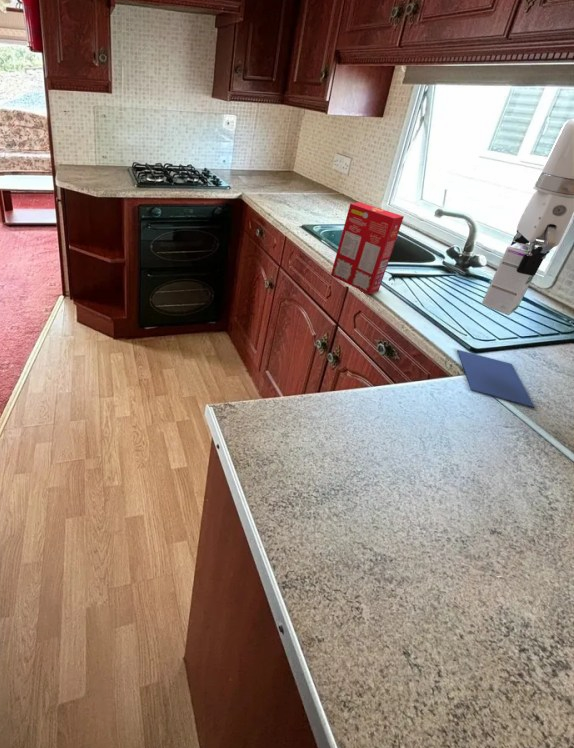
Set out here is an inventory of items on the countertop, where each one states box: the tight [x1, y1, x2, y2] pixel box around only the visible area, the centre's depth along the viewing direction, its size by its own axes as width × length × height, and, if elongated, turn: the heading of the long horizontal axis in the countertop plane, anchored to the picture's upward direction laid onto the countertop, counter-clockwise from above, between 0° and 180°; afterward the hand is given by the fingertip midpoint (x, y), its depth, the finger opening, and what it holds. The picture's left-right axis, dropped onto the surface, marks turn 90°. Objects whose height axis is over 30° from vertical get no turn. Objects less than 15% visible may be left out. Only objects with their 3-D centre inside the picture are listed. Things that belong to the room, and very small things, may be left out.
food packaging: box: [330, 201, 404, 295], centre depth 127 cm, size 15×5×25 cm, turn 37°
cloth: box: [457, 349, 535, 409], centre depth 94 cm, size 12×16×1 cm
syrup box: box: [481, 242, 538, 316], centre depth 88 cm, size 6×6×14 cm
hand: (519, 265), depth 87 cm, fingers closed on syrup box, 7 cm apart
